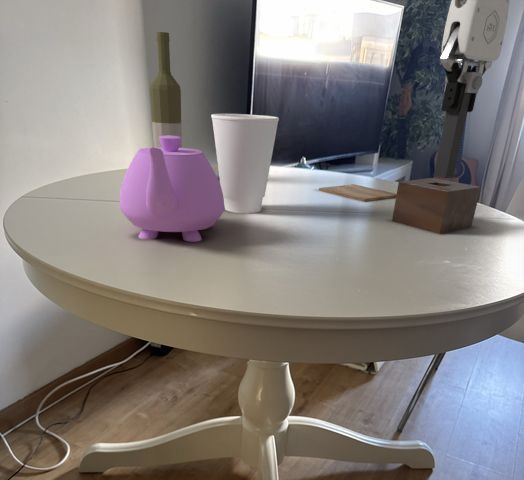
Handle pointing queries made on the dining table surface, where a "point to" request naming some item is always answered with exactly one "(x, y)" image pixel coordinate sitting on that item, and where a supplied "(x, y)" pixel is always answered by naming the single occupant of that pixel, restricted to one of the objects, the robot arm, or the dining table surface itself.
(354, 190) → the wooden board
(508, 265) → the dining table surface
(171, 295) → the dining table surface
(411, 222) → the holder
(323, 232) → the dining table surface
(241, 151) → the cup
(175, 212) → the teapot
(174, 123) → the bottle
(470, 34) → the robot arm
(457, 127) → the long square rod
